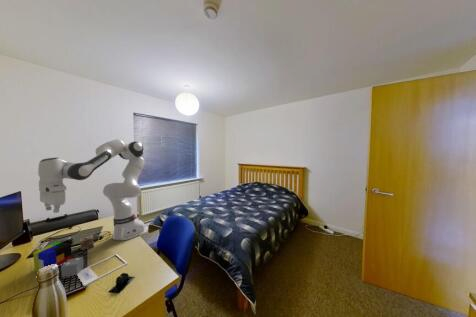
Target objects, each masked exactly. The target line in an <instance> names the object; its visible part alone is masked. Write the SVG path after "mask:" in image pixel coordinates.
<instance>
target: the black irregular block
mask: <svg viewBox="0 0 476 317" xmlns="http://www.w3.org/2000/svg"><path fill="white" fill-rule="evenodd" d="M135 278H136V277H135V276H129V273H127V272H122V273H121V274H120V275H119V276H117V277H116V279H115V285H114V286H113V287H112V288H111V289H109V290H108V294H109V293H111V294H118V295H119V294H120V293H121V292H122V291H123V290H125V289H126V287H127V286H129V284H130V283H131V282H132V281H133V280H134V279H135Z"/></svg>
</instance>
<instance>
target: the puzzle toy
mask: <svg viewBox="0 0 476 317" xmlns="http://www.w3.org/2000/svg"><path fill="white" fill-rule="evenodd" d="M32 255H33V265H34V271H35V272H39V271H38V270H39V269H41V268H43V267H45V266H48V265H51V264H57V265H60V264H62V263H64V262H67V261H68V260H69V259H73V256H72V255H73V254H72V243H71V242H70V243H68V242H60V241H57V242H54V243H52V244H49V245H47V246H45V247H42V248H40V249H39V250H36V251H34V252H32Z"/></svg>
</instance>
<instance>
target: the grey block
mask: <svg viewBox="0 0 476 317" xmlns="http://www.w3.org/2000/svg"><path fill="white" fill-rule="evenodd" d="M84 266H85V264H84V256H81V257H76V258H72V259H69V260H68V261H67V262H66V263H65V264H64V265H63V266H61V267H60V269H61V270H60V271H61V278H62V277H65V276H72V277H74V276H73V275H77V274H78V273H79V272H80V271H81V270H82V269H84V268H85V267H84ZM83 267H84V268H83Z"/></svg>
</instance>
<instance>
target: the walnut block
mask: <svg viewBox="0 0 476 317" xmlns="http://www.w3.org/2000/svg"><path fill="white" fill-rule="evenodd" d="M79 241H80V251H81V250H83V249H86V250H88V249H92V248H95V244H94V235H93V234H90V235H87V236H84V237H80V240H79ZM83 251H84V250H83Z"/></svg>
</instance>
